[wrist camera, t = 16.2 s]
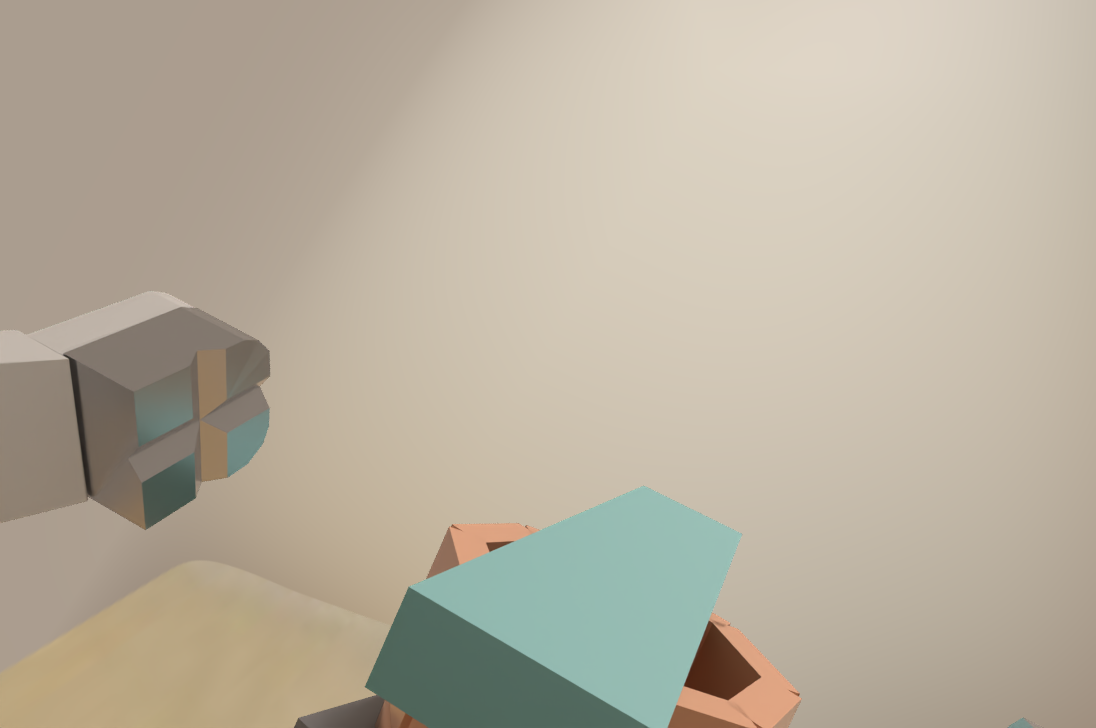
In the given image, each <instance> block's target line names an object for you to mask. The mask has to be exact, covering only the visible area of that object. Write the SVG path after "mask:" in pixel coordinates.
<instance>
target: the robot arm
mask: <svg viewBox="0 0 1096 728" xmlns="http://www.w3.org/2000/svg"><path fill="white" fill-rule="evenodd" d="M269 377H270V358H269V350H268V349H267V348H266V347H265V346H264V345H263V344H262V343H260V341H259V340H257V339H255V338H253V337H251V336H249V335H247V334H245V333H243V332H242V331H240V330H238V329H236V328H234V327H232V326H230V325H228V324H227V323H225V322H223V321H221V320H219V319H217V318H215V317H213V316H211V315H209V314H208V313H206V312H204V311H202V310H200V309H198V308H194V307H192V306H191V305H189V304H187V303H185V302H183V301H181V300H179V299H177V298H176V297H173V296H172V295H170V294H168V293H163V292H155V291H148V292H146V293H143V294H140V295H137V296H134V297H131V298H129V299H126V300H123V301H120V302H117V303H115V304H112V305H109V306H106V307H104V308H100V309H98V310H95V311H92V312H89V313H86V314H84V315H81V316H78V317H75V318H73V319H70V320H67V321H64V322H61V323H58V324H55V325H53V326H50V327H47V328H44V329H41V330H39V331H36V332H33V333H30V334H27V335H25V334H23V333H21V332H20V331H18V330H2V331H0V523H3V522H7V521H10V520H15V519H18V518H23V517H26V516H30V515H35V514H39V513H42V512H46V511H50V510H54V509H58V508H62V507H66V506H70V505H74V504H78V503H82V502H86V501H87V500H88V497H89V498H91V499H93V500H95V501H96V502H98V503H100V504H101V505H103V506H105V507H107V508H108V509H110V510H112V511H114V512H115V513H117V514H119V515H120V516H122V517H124V518H126V519H127V520H129V521H131V522H132V523H134V524H136V525H138V526H139V527H141V528H143V529H145V530H146V529H148V528H149V527H151V526H153V525H154V524H156V523H157V522H159V521H161V520H162V519H164V518H165V517H167V516H168V515H170V514H171V513H173V512H175V511H176V510H178V509H179V508H180V507H182V506H184V505H186V504H187V503H189V502H190V501H192V500H193V499H195V498H196V496H197V493H198V491H199V488H200V485H201V482H204V481H210V480H216V479H222V478H227V477H229V476H231V475H232V474H234V473H235V472H236V471H238V470H239V469H241V468H242V467H244V466H245V465H247V464H248V463H249V461H250V460H251V459H252V457H253V456H254V455H255V453H256V452H257V451H258V450H259V448H260V447H261V445H262V444H263V442H264V438H265V436H266V433H267V430H268V427H269V406H268V404H267V402H266V399H265V397H264V395H263V393H262V391H261V388H260V386H261V385H262V384H263V383H264V382H265V381H266V380H267V379H268V378H269ZM1008 728H1043V727H1041V726H1039V725H1037V724H1035V723H1033V722H1031V721H1029V720H1027V719H1025V718H1022V719H1020V720H1018V721H1017V722H1015V723H1013V724H1011V725H1010V726H1009V727H1008Z"/></svg>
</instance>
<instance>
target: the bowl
mask: <svg viewBox="0 0 1096 728" xmlns="http://www.w3.org/2000/svg"><path fill="white" fill-rule="evenodd" d="M537 531H540V530H538V529H535V528H533V527H530V526H527V525H526V526H525V527H524V526H522V525H520V524H519V523H506V524H452V526H451V527H449V528H448V530H447V533H446V535H445V537H444V539H443V542H442V544H441V546H440V549H439V551H438V553H437V555H436V558H435V560H434V562H433V565H432V567H431V569H430V571H429V574H428V576H427V578H426V579H428V578H430V577H433V576H435V575H437V574H440V573H442V572H444V571H447V570H449V569H451V568H454V567H456V566H458V565H461V564H463V563H465V562H468V561H470V560H472V559H475V558H477V557H479V556H482V555H484V554H486V553H489V552H491V551H493V550H496V549H498V548H500V547H503V546H505V545H507V544H510V543H512V542H514V541H516V540H519V539H521V538H523V537H526V536H528V535H530V534H533V533H535V532H537ZM799 694H800V693H798V691H797V690H796V689H795V688H794V687H793V686H792V685H791V684H790V683H789V682H788V681H787V680H786V679H785V678H784V677H783V676H782V675H781V674H780V672H779V671H778V670H777V669H776V668H775V667H774V666H773V665H772V664H771V663H770V662H769V661H768V660H767V659H766V658H765V657H764V656H763V655H762V654H761V652H760V651H759V650H758V649H757V648H756V647H755V646H754V645H753V644H752V643H751V642H750V641H749V640H748V639H747V638H746V637H745V636H744V635H743V634H742V633H741V631H739V629H736V628H734V627H731V626H730V623H729V622H727V621H726V620H724V619H722V618H721V617H719V616H717V615H716V614H714V613H711V616H710V619H709V621H708V624H707V626H706V629H705V632H704V634H703V637H702V639H701V642H700V645H699V647H698V650H697V652H696V655H695V658H694V660H693V663H692V665H691V668H690V670H689V673H688V676H687V678H686V681H685V683H684V686H683V689H682V691H681V694H680V696H679V699H678V702H677V704H676V707H675V709H674V712H673V715H672V717H671V720H670V722H669V725H668V727H667V728H788V727H789V725H790V723H791V721H792V719H793V716H794V714H795V712H796V710H797V708H798V706H799V704H800V702H801V700H802V699H801V698H800V697H799ZM375 728H428V727H427V726H425V725H423V724H422V723H420V722H419V721H417V720H416V719H414V718H413V717H411V716H409V715H408V714H406V713H405V712H403V711H402V710H400V709H399V708H397V707H395V706H394V705H392V704H391V703H389V702H388V701H386V700H384V702H383V705H382V707H381V709H380V712H379V714H378V717H377V720H376V723H375Z"/></svg>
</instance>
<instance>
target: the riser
mask: <svg viewBox="0 0 1096 728" xmlns="http://www.w3.org/2000/svg"><path fill="white" fill-rule="evenodd" d="M383 702H384V699H383V698H381V697H380V696H378V695H375V696H372V697H368V698H365V699H362V700H358V701H355V702H351V703H348V704H345V705H341V706H338V707H334V708H331V709H327V710H324V711H321V712H317V713H314V714H310V715H307V716H304V717H300V718H298V720H297V722H296V725H295V727H294V728H375V723H376V720H377V717H378V714H379V712H380V709H381V707H382V705H383Z"/></svg>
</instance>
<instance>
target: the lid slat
mask: <svg viewBox="0 0 1096 728" xmlns="http://www.w3.org/2000/svg"><path fill="white" fill-rule="evenodd" d="M741 536H742V534H741V533H739V532H737V531H735V530H733V529H731V528H729V527H727V526H725V525H723V524H721V523H719V522H717V521H715V520H713V519H711V518H709V517H707V516H704V515H702V514H701V513H699V512H696V511H694V510H692V509H690V508H688V507H686V506H684V505H682V504H680V503H678V502H676V501H674V500H672V499H670V498H668V497H666V496H664V495H662V494H660V493H658V492H655V491H654V490H652V489H650V488H648V487H645V486H642V487H640V488H637V489H635V490H633V491H630V492H628V493H626V494H623V495H621V496H619V497H616V498H614V499H612V500H609V501H607V502H605V503H603V504H600V505H598V506H596V507H594V508H591V509H589V510H586V511H584V512H582V513H579V514H577V515H575V516H572V517H570V518H568V519H565V520H563V521H561V522H558V523H556V524H554V525H552V526H549V527H547V528H544V529H542V530H540V531H537V532H535V533H533V534H530V535H528V536H526V537H523V538H521V539H519V540H516V541H514V542H512V543H510V544H507V545H505V546H503V547H500V548H498V549H496V550H493V551H491V552H489V553H486V554H484V555H482V556H479V557H477V558H475V559H472V560H470V561H468V562H465V563H463V564H461V565H458V566H456V567H454V568H451V569H449V570H447V571H444V572H442V573H440V574H437V575H435V576H433V577H430V578H428V579H426V580H424V581H422V582H419V583H417V584H414V585H412V586H410V587H408V590H407V592H406V595H405V597H404V599H403V601H402V603H401V606H400V608H399V610H398V613H397V615H396V617H395V619H394V622H393V624H392V626H391V629H390V631H389V633H388V635H387V638H386V640H385V642H384V644H383V647H382V649H381V651H380V654H379V656H378V658H377V660H376V663H375V665H374V667H373V670H372V672H371V674H370V676H369V679H368V681H367V683H366V686H365V687H366V688H367V689H369V690H370V691H372V692H374V693H375V694H377V695H378V696H380V697H381V698H383V699H384V700H386V701H388V702H389V703H391V704H392V705H394V706H395V707H397V708H399V709H400V710H402V711H403V712H405V713H406V714H408V715H409V716H411V717H413V718H414V719H416V720H417V721H419V722H420V723H422V724H423V725H425V726H427V727H428V728H667V727H668V725H669V722H670V720H671V717H672V715H673V712H674V709H675V707H676V704H677V702H678V699H679V696H680V694H681V691H682V689H683V686H684V683H685V681H686V678H687V676H688V673H689V670H690V668H691V665H692V663H693V660H694V658H695V655H696V652H697V650H698V647H699V645H700V642H701V639H702V637H703V634H704V632H705V629H706V626H707V624H708V621H709V619H710V616H711V613H712V611H713V608H714V606H715V603H716V600H717V598H718V595H719V593H720V590H721V588H722V585H723V582H724V580H725V577H726V575H727V572H728V569H729V567H730V564H731V562H732V559H733V556H734V554H735V551H736V549H737V546H738V543H739V541H740V538H741Z"/></svg>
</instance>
